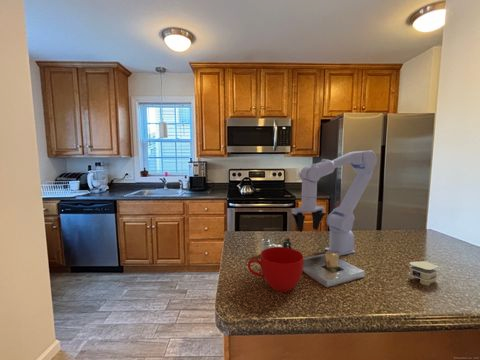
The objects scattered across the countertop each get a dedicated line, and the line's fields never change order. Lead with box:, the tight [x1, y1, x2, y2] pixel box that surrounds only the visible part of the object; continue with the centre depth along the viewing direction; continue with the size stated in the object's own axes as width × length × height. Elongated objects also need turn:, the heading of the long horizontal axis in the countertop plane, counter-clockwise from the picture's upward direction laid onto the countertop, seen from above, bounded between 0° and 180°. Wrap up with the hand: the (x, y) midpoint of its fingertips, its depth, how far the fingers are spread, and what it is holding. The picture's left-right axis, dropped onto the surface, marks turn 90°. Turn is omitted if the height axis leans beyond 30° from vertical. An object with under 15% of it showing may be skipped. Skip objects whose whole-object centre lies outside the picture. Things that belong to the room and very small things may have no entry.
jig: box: [302, 251, 366, 288], centre depth 81 cm, size 16×12×4 cm
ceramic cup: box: [247, 247, 304, 293], centre depth 73 cm, size 13×17×10 cm
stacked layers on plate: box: [408, 260, 440, 286], centre depth 76 cm, size 10×9×6 cm
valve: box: [260, 238, 293, 253], centre depth 98 cm, size 7×7×12 cm
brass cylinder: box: [325, 250, 338, 273], centre depth 82 cm, size 4×4×7 cm
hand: (307, 230), depth 96 cm, fingers open, 7 cm apart
